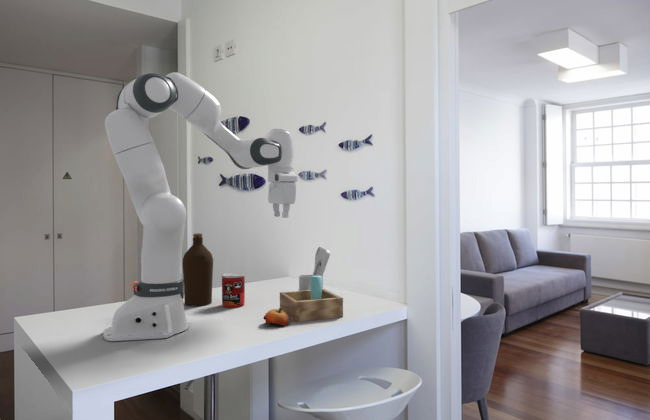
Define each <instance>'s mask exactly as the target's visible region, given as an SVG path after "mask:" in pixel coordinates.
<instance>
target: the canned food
mask: <svg viewBox="0 0 650 420" xmlns="http://www.w3.org/2000/svg"><path fill="white" fill-rule="evenodd" d="M245 280H246V279H245V273H243V272H228V273H223V274H222V275H221V298H222V299H221V305H222V307H224V308H225V309H227V308H228V309H233V308H234V309H236V308H241V307H243V306H244V305H245V301H246V300H245V287H246V286H245V282H246V281H245Z"/></svg>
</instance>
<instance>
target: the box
mask: <svg viewBox="0 0 650 420" xmlns="http://www.w3.org/2000/svg"><path fill="white" fill-rule="evenodd" d="M279 308H281V309H282V311H284V312H285V313H286V314H287V315H288V317H289V319H291V320H292V321H294V322H295V323H297V322H307V321H316V320H326V319H334V318H335V319H336V318H342V317H344V297H342V296H341V295H337V294H335V293H333V292H331V291H329V290H327V289H325V288H323V289H322V299H317V300H311V290H303V291H298V290H295V291H280V292H279Z"/></svg>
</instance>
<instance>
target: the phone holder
mask: <svg viewBox="0 0 650 420" xmlns="http://www.w3.org/2000/svg"><path fill="white" fill-rule="evenodd" d="M330 256H331V251H330V250H328V249H327V248H324V247H322V246H319V247H317V249H316V252H315V257H314V270H313V272H312V274H303V275H302V274H301V275H299V276H298V290H297V291H303V290H311V276H322V289H324V272H325V270H326V267H327V265H328V261H329V259H330Z"/></svg>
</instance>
